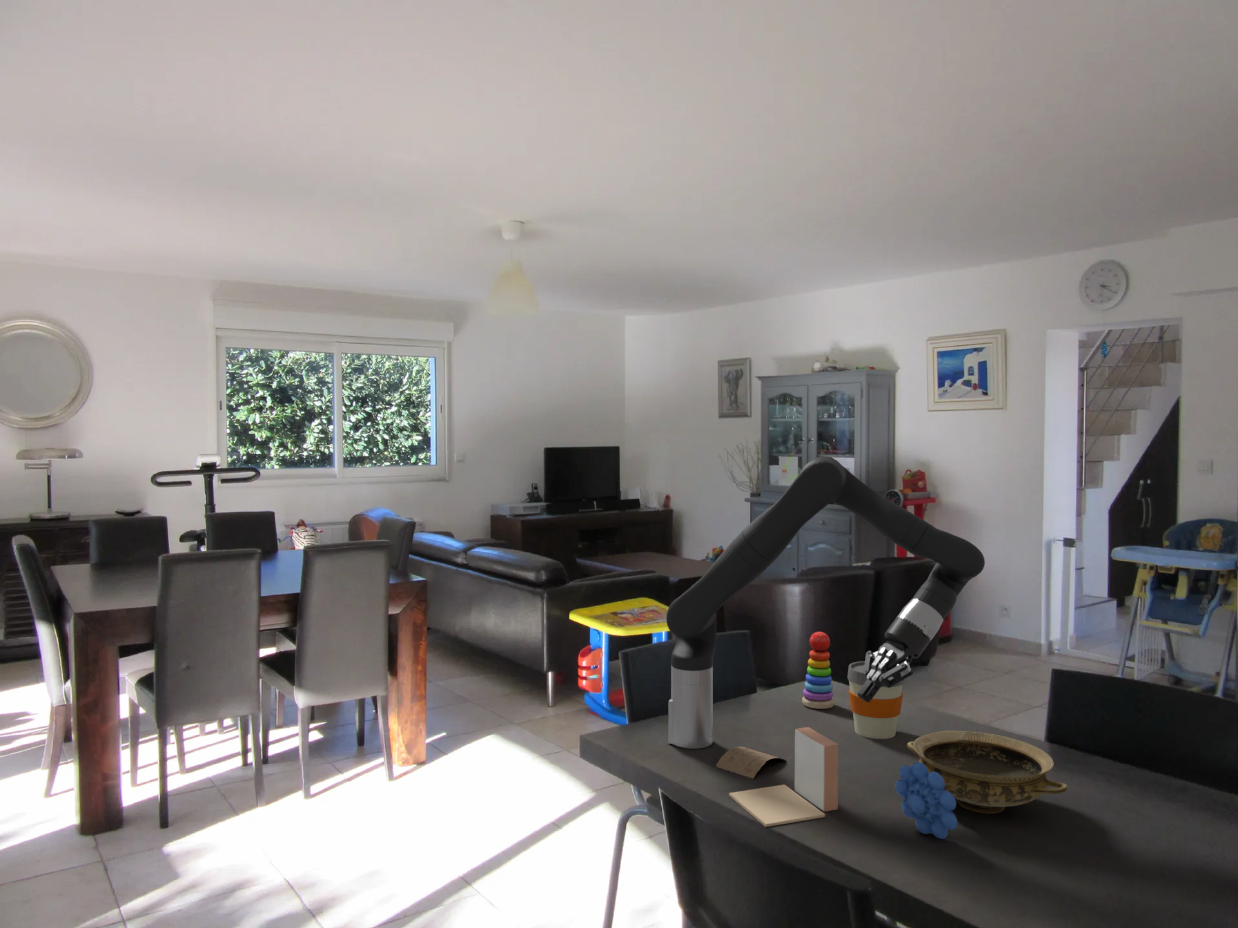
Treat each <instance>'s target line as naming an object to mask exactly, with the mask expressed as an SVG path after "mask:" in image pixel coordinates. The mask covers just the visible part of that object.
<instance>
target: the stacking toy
mask: <svg viewBox="0 0 1238 928" xmlns="http://www.w3.org/2000/svg"><path fill="white" fill-rule="evenodd" d="M809 645H810V647H811V648H812V650H810V651H809V655H808V656H809V657H810V658H809V659H808V660H807V665H808V666H807V669H806V671H807V674H805V680H806V681H805V682H804V689H803V691H802V696H803V697H802V698H801V702H802V704H803V706H806V707H808V708H810V709H815V710H816V709H817V710H828V709H831V708H833V707H834V705H835V700H834V698H833V697H834V693H833V691H832V690H833V688H834V687H833V683H832V681H833V677H832V676H831V674H832V669H831V667H830V666H831V663H830V660H829V659H830V655H831V654H830V652H829V651H827V650H828V649H829V647H830V645H831V639H830V637H829V635H828V634H827V633H825V632H823V631H816V632H813V633H812V634H811V635H810V638H809Z"/></svg>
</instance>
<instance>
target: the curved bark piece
mask: <svg viewBox="0 0 1238 928" xmlns="http://www.w3.org/2000/svg"><path fill="white" fill-rule="evenodd" d="M772 759H773V760H774V759H778V760H781V761H784V762H787V759H784V758H780V757H778V756H774V755H771V754H768V753H765V752H761V751H758V750H755V749H751V748H748V747H746V746H738V747H737V746H735V747H733V748H730V749H728V751H727V750H726V752H725V753H724V754H722V755H721V757H720V758H719V760H718V761H717V763H716V765H715V766H716V767H717V768H719V769H721V768H722V769H723V770H724V771H728V770H729V772H731V773H734V772H735V773H734V774H737V775H741V776H743V777H747V776H748V777H747V778H749V777H750V778H749V779H751V778H752V780H753V779H754V778H755V776H756V775H757V773H758V772H759V771H760V770H761V769H762V767H764V765H765V764H766V762H767V761H769V760H772Z"/></svg>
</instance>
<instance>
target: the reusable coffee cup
mask: <svg viewBox="0 0 1238 928" xmlns="http://www.w3.org/2000/svg"><path fill="white" fill-rule="evenodd" d="M864 665H865V660H863V661H862V660H861V661H856V662H852V663H850V664H849V665H848V671H847V680H848V682H849V683H848V684H849V688H848V698H849V699H848V700H849V706H850V711H851V712H852V714H853V715H852V716H853V724H854V731H855V733H856V734H857V735H859V736H861V737H863V738H868V739H873V740H886V739H891V738H894V737H895V736H896V732H897V726H898V725H897V724H898V719H899V716H900V715H901V709H902V703H903V702H902V701H903V697H904V694H903V693H902V692H903V691H902V689H903V685H904V683H905V679H904V680H902V681H900V682H899V683H897V684H895V685H894V686H892V687H890V688H888V687H887V686H884V687H883V688H880V689H879V690H878V692H877V693H876V694H875V696H874V697H873V698H872V699H871V701H870V702H865V701H863V700H862V699H861V698H860V697H859V696H858V692H859V690H860V689H861V687H862V686H863V685H864V683H865V682H866V680H867V677H866V675H865V674H864V673H863V672H864Z"/></svg>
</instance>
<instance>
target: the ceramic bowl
mask: <svg viewBox="0 0 1238 928" xmlns="http://www.w3.org/2000/svg"><path fill="white" fill-rule="evenodd" d="M906 747H907V748H908V750H910V751H911V752H912V753H913V754H915V755H916V756H917V757H919V760H918V762H921V763H923V764H924V765H925V766H926V767H927V769H928V772H929V773H930V772H937V773H939V774H940V775H941V776H942V778H943V780H944V783H945V786H944V789H943V790H942V791H944V790H946V791H949V792H950V793H951V794H952V795H953V796H954V798H955V800H956V803H958V804H959V805H960V806H961V807H962V808H965V809H967V810H968V811H972V812H976V813H980V814H981V813H982V814H999V813H1001V812H1004V810H1005V809H1006V808H1007V807H1016V806H1017V807H1018V806H1020V805H1024V804H1029V803H1030V802H1033V801H1034V800H1036V799H1038V798H1039V797H1040V796H1042V795H1043V794H1044V795H1059V794H1062V793H1065V792H1067V790H1068V785H1067V784H1066V783H1064V782H1060V781H1055V780H1049V779H1048V777H1047V773H1049V772H1050V771H1051V770H1052V769H1053V768H1054V764H1055V763H1054V760H1053V758H1052V756H1051V755H1050V754H1048V753H1047V752H1045V751H1044V750H1043V749H1041V748H1039V747H1038V746H1035V745H1033V744H1030V743H1027V742H1025V741H1022V740H1019V739H1016V738H1012V737H1008V736H1004V735H999V734H993V733H988V732H979V731H966V730H965V731H964V730H941V731H935V732H929V733H927V734H923V735H921V736H920V737H918V738H916V739H915V740H914V741H909V742H908V743H906ZM1047 787H1052V788H1047Z"/></svg>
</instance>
